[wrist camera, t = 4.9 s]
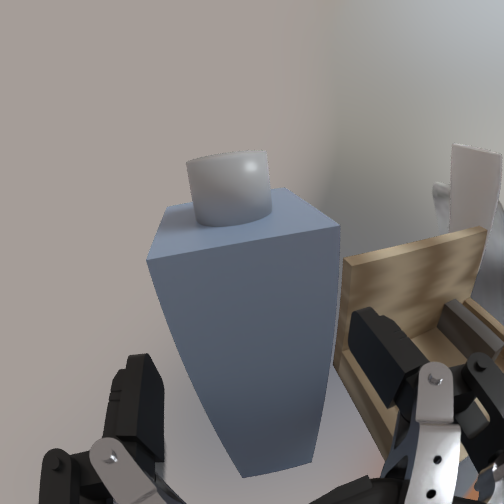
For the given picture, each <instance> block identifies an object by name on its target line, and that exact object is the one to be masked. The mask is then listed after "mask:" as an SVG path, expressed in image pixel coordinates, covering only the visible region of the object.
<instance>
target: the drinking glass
mask: <svg viewBox="0 0 504 504" xmlns="http://www.w3.org/2000/svg"><path fill="white" fill-rule="evenodd" d="M501 178H502V154H500V153H497V152H494V151H490V150H487V149H482V148H478V147H473V146H468V145H462V144H452V156H451V190H450V220H449V233H452V232H456V231H460V230H464V229H468V228H472V227H476V226H481V227H483V228H485V229H487V230H488V231H487V236H486V241H485V246H484V250H483V254H482V258H481V262H480V266H479V269H478V272H479V270H480V267H481V263H482V259H483V256H484V253H485V250H486V247H487V243H488V240H489V236H490V233H491V229H492V225H493V221H494V217H495V213H496V209H497V204H498V200H499V194H500V187H501Z"/></svg>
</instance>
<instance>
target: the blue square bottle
mask: <svg viewBox="0 0 504 504" xmlns="http://www.w3.org/2000/svg"><path fill="white" fill-rule="evenodd" d="M186 165H187V172H188V177H189V183H190V189H191V195H192V201H193V202H190V203H184V204H179V205H174V206H169V207H167V208H166V211H165V213H164V216H163V218H162V221H161V223H160V225H159V228H158V230H157V233H156V235H155V238H154V240H153V243H152V245H151V248H150V251H149V253H148V256H147V259H146V261H147V265H148V268H149V271H150V274H151V278H152V281H153V284H154V287H155V290H156V293H157V296H158V299H159V301H160V305H161V307H162V310H163V313H164V315H165V318H166V321H167V324H168V326H169V329H170V332H171V334H172V337H173V339H174V342H175V344H176V347H177V349H178V352H179V354H180V357H181V359H182V361H183V364H184V366H185V368H186V371H187V373H188V375H189V378H190V380H191V382H192V384H193V386H194V389H195V391H196V393H197V395H198V397H199V399H200V401H201V403H202V405H203V407H204V409H205V411H206V413H207V415H208V417H209V419H210V421H211V423H212V425H213V427H214V429H215V431H216V433H217V435H218V437H219V438H220V440H221V442H222V444H223V446H224V447H225V449H226V451H227V453H228V454H229V456H230V458H231V460H232V461H233V463H234V465H235V466H236V468H237V470H238V471H239V473H240V475H241V476H242V478H246V477H252V476H257V475H262V474H267V473H272V472H277V471H281V470H285V469H289V468H293V467H297V466H300V465H303V464H307V463H311V462H312V458H313V454H314V449H315V445H316V440H317V436H318V431H319V426H320V421H321V416H322V411H323V405H324V400H325V394H326V388H327V382H328V375H329V367H330V361H331V353H332V345H333V336H334V326H335V317H336V306H337V293H338V277H339V256H340V225H339V224H337V223H336V222H335V221H333V220H332V219H331V218H329V217H328V216H326V215H325V214H323V213H322V212H321V211H319V210H318V209H316V208H315V207H313V206H312V205H310V204H309V203H307V202H306V201H304V200H303V199H301V198H300V197H298V196H297V195H295V194H294V193H292V192H291V191H289V190H288V189H286V188H277V189H270V179H269V169H268V159H267V151H263V150H251V151H238V152H230V153H222V154H216V155H210V156H205V157H201V158H197V159H193V160H190V161H188V162H186Z"/></svg>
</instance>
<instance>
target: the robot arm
mask: <svg viewBox="0 0 504 504" xmlns="http://www.w3.org/2000/svg"><path fill="white" fill-rule="evenodd" d="M348 346H349V349H350V351H351V353H352V355H353V356H354V358H355V359H356V361H357V362H358V364H359V365H360V367H361V369H362V370H363V372H364V373H365V375H366V376H367V378H368V380H369V381H370V383H371V384H372V386H373V387H374V389H375V391H376V392H377V394H378V395H379V397H380V399H381V400H382V402H383V403H384V405H385V407H386V408H387V409H389V408H392V407H394V406H396V405H397V407H398V408H399V411H398V414H397V419H396V425H395V430H394V435H393V440H392V445H391V449H390V453H389V455H388V457H387V459H386V461H385V464H384V466H383V469H382V472H381V476H380V478H373V479H369V477H368V475H366V476H364V477H361V478H359V479H357V480H354V481H352V482H349V483H347V484H344V485H342V486H339V487H337V488H335V489H334V490H332V491H330V492H329V493H327V494H325V495H323V496H322V497H320V498H318V499H316V500H315V501H313V502H311V503H309V504H504V373H503V372H502V371H501V370H500V368H499V367H498V366H497V365H496V364H495V362H494V361H493V360H492V359H491V358H490V357H489V356H488V355H486V354H484V353H481V352H476V353H473V354H471V355H470V356H469V358H468V360H467V361H466V363H465V364H462V365H457V366H453V367H447V366H446V365H444V364H442V363H440V362H430V361H429V360H428V359H427V358H426V357H425V355H424V354H423V353H422V352H421V351H420V350H419V348H418V347H417V346H416V345H415V344H414V343H413V342H412V340H411V339H410V338H409V337H407V335H406V334H405V332H404V331H403V330H401V328H400V327H399V326H398V325H397V324H396V322H395V321H394V320H392V319H390V318H388V317H386V316H385V315H381V316H379V315H378V314H377V312H376V311H375V310H374V309H373V308H372V307H366V308H363V309H359V310H356V311H353V312H352V314H351V320H350V327H349V334H348ZM476 397H477V398H478V400H479V401H480V403H481V404H482V405H483V407H484V408H485V410H486V411H487V413H488V414H489V417H490V422H489V421H488V420H487V418H486V417H485V415H484V414H483V412H482V411H481V409H480V408H479V407H478V405H477V404H476V402H475V401H474V400H475V399H476ZM460 441H461V443H462V444H463V446H464V448H465V450H466V452H467V453H468V455H469V457H470V459H471V461H472V462H473V464H474V466H475V468H476V470H477V472H478V474H479V476H478V480H477V481H476V483H475V485H474V489H475V490H476V491H479V498H478V501H475V500H471V499H466V498H461V497H457V496H453V495H454V489H455V484H456V477H457V470H458V462H459V452H460ZM155 462H164V385H163V381H162V378H161V376H160V374H159V372H158V371H157V369H156V367H155V365H154V363H153V361H152V359H151V357H150V356H149V354H147V353H146V354H138V355H130V356H128V359H127V364H126V369H120V370H119V371H118V372H117V374H116V376H115V377H114V379H113V381H112V386H111V393H110V396H109V403H108V407H107V413H106V419H105V426H104V431H103V436H102V439H99V440H98V441H96V442H95V443H94V444H93V445H92V447H91V449H90V450H89V451H86V452H82V453H77V454H72V455H69V454H68V453H66V452H65V451H64V450H62V449H58V448H57V449H56V448H55V449H52V450H50V451H48V452H47V453H46V454H45V456H44V458H43V462H42V470H41V479H40V491H39V504H113V498H114V499H115V501H116V502H117V503H118V504H186V503H185V502H184V501H183V500H182V499H181V498H180V497H179V496H178V495H177V494H176V493H175V492H174V491H173V490H172V489H171V488H170V487H169V486H168V485H167V484H166V483H165V482H164V480H163V479H162V478H161V477H160V476H159V475H158V474H157V473H156V472H155Z"/></svg>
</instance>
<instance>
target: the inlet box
mask: <svg viewBox="0 0 504 504" xmlns="http://www.w3.org/2000/svg"><path fill="white" fill-rule="evenodd" d="M487 231H488V230H487V229H485V228H483V227H481V226H476V227H472V228H468V229H464V230H460V231H456V232H452V233H448V234H444V235H440V236H436V237H433V238H428V239H424V240H420V241H416V242H411V243H407V244H403V245H399V246H394V247H390V248H386V249H381V250H376V251H372V252H367V253H363V254H358V255H354V256H349V257H345V258H343V272H342V287H341V299H340V310H339V320H338V329H337V338H336V345H335V353H334V360H333V366H334V368H335V369H336V371H337V373H338V375H339V377H340V378H341V380H342V382H343V384H344V386H345V388H346V389H347V391H348V393H349V395H350V397H351V399H352V401H353V402H354V404H355V406H356V408H357V410H358V412H359V413H360V415H361V417H362V419H363V421H364V423H365V424H366V426H367V428H368V430H369V432H370V434H371V436H372V438H373V439H374V441H375V443H376V445H377V447H378V449H379V451H380V453H381V455H382V456H383V458H384V460H385V461H386V459H387V457H388V455H389V453H390V449H391V445H392V440H393V435H394V430H395V425H396V419H397V414H398V411H399V408H398V407H397V405H396V406H394V407H392V408H389V409H387V408H386V407H385V405H384V403H383V402H382V400H381V399H380V397H379V395H378V394H377V392H376V391H375V389H374V387H373V386H372V384H371V383H370V381H369V380H368V378H367V376H366V375H365V373H364V372H363V370H362V369H361V367H360V365H359V364H358V362H357V361H356V359H355V358H354V356H353V355H352V353H351V351H350V349H349V346H348V334H349V327H350V320H351V314H352V312H353V311H356V310H359V309H363V308H366V307H372V308H373V309H374V310H375V311H376V312H377V314H378V315H379V316H381V315H385V316H386V317H388V318H390V319H392V320H394V321H395V322H396V324H397V325H398V326H399V327H400V328H401V330H403V331H404V332H405V334H406V335H407V337H409V338H410V339H411V340H412V342H413V343H414V344H415V345H416V346H417V347H418V348H419V350H420V351H421V352H422V353H423V354H424V355H425V357H426V358H427V359H428V360H429V361H430V362H440V363H442V364H444V365H446V366H447V367H453V366H457V365H462V364H465V363H466V361H467V360H468V358H469V356H470V355H471V354H473V353H476V352H481V353H484V354H486V355H488V356H489V357H490V358H491V359H492V360H493V361H494V362H495V364H496V365H497V366H498V367H499V368H500V370H501V371H502V372H503V373H504V326H503V325H502V324H501V323H500V322H498V321H497V320H496V319H495V318H494V317H493V316H492V315H491V314H489V313H488V312H487V311H486V310H485V309H484V308H482V307H481V306H480V305H479V304H478V303H476V302H475V301H474V300H473V299H472V298H470V295H471V292H472V289H473V286H474V283H475V280H476V276H477V273H478V269H479V266H480V262H481V258H482V254H483V250H484V246H485V241H486V236H487ZM474 401H475V402H476V404H477V405H478V407H479V408H480V409H481V411H482V412H483V414H484V415H485V417H486V418H487V420H488V421H489V422H490V417H489V414H488V413H487V411H486V410H485V408H484V407H483V405H482V404H481V403H480V401H479V400H478V398H477V397H476V399H475V400H474ZM467 456H468V453H467V452H466V450H465V448H464V446H463V444H462V443H461V441H460V452H459V462H461V461H462V460H463V459H464V458H466V457H467ZM459 462H458V463H459Z"/></svg>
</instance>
